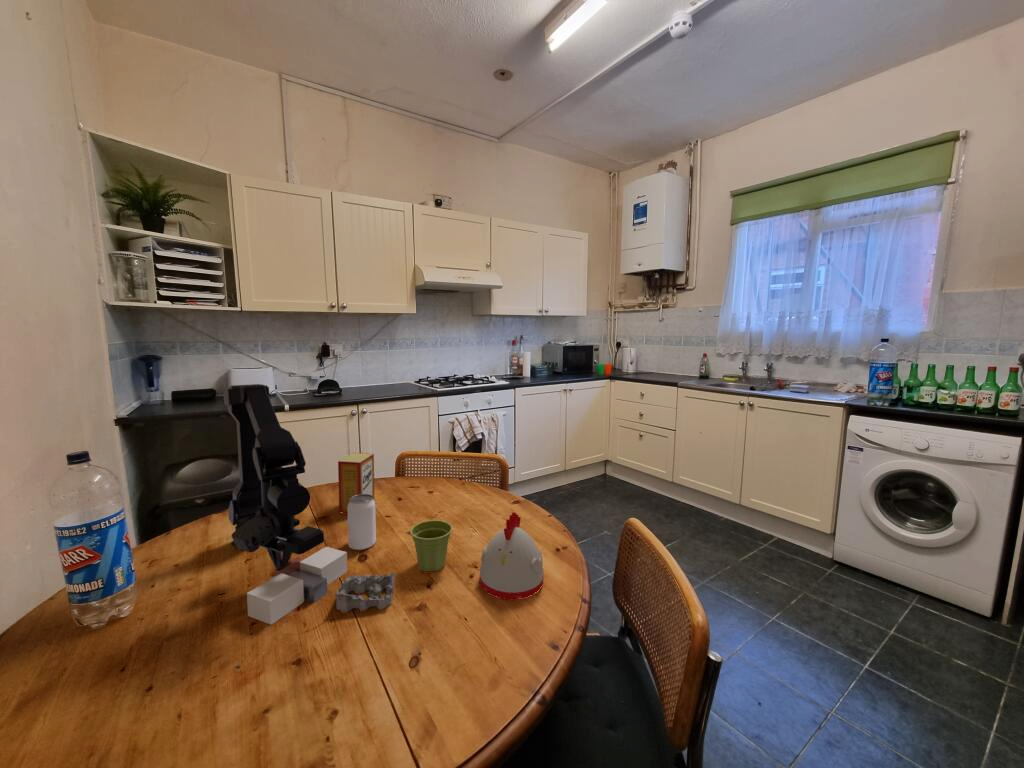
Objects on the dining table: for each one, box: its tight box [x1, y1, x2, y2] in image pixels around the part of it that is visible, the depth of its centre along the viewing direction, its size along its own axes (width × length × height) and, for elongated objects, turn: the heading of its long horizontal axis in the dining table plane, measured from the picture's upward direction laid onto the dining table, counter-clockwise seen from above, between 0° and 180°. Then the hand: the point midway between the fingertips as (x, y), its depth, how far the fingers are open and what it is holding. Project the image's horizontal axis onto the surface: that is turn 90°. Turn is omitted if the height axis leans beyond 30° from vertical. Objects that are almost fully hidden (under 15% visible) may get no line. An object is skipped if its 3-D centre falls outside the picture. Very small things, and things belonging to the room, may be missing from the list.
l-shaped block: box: [274, 556, 328, 603], centre depth 82 cm, size 9×5×5 cm, turn 68°
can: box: [347, 494, 377, 551], centre depth 101 cm, size 6×6×12 cm
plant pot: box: [409, 519, 453, 572], centre depth 93 cm, size 9×9×9 cm
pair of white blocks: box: [246, 546, 348, 625], centre depth 82 cm, size 6×18×4 cm, turn 158°
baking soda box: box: [337, 452, 375, 513], centre depth 123 cm, size 10×6×16 cm
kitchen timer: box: [479, 511, 545, 600], centre depth 87 cm, size 14×14×15 cm
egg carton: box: [334, 572, 396, 613], centre depth 80 cm, size 11×8×4 cm
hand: (280, 571), depth 84 cm, fingers closed
